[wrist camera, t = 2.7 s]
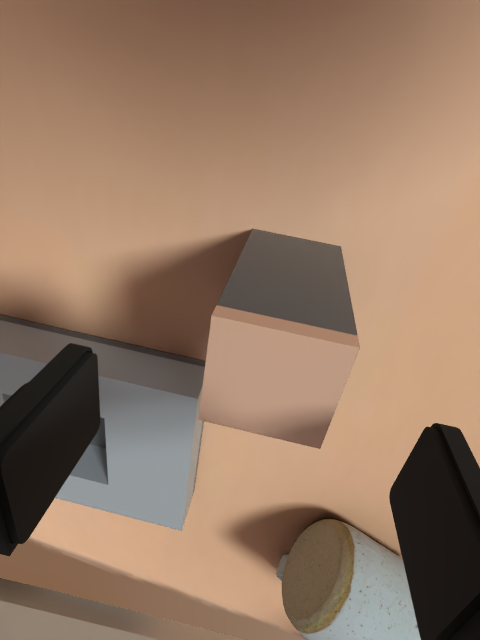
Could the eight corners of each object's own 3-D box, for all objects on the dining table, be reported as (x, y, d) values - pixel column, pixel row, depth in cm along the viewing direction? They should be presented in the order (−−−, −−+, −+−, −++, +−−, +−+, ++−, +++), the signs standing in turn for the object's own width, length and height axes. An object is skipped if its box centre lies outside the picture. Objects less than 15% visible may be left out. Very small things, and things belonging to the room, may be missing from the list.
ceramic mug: (343, 494, 25) (352, 628, 19) (429, 548, 26) (463, 691, 20) (254, 546, 30) (237, 664, 24) (329, 589, 31) (332, 711, 25)
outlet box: (211, 362, 21) (197, 399, 18) (194, 490, 27) (181, 530, 25) (-50, 303, 22) (-98, 329, 20) (-10, 439, 28) (-42, 472, 26)
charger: (340, 246, 17) (359, 347, 10) (317, 322, 19) (319, 448, 12) (252, 228, 17) (211, 315, 10) (239, 305, 19) (198, 419, 12)
